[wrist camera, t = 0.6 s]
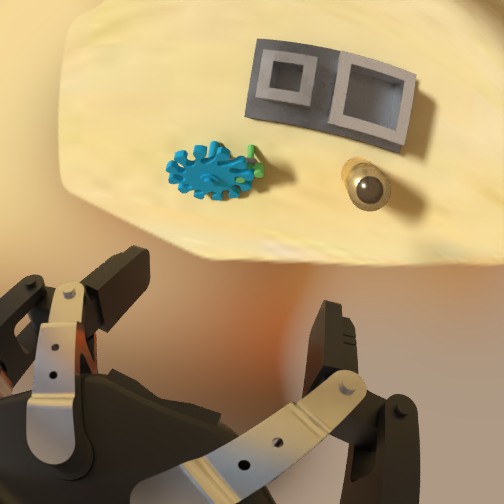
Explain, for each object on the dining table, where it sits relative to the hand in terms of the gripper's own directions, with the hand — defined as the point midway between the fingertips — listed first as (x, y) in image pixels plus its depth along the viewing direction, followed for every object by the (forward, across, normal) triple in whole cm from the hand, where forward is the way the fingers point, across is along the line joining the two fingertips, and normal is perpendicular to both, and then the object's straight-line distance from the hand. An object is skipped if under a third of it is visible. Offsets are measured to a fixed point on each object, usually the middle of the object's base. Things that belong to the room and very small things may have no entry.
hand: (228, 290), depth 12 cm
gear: (+23, +8, 0) cm, 25 cm away
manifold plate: (+23, -3, -12) cm, 26 cm away
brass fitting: (+23, -8, -3) cm, 25 cm away
